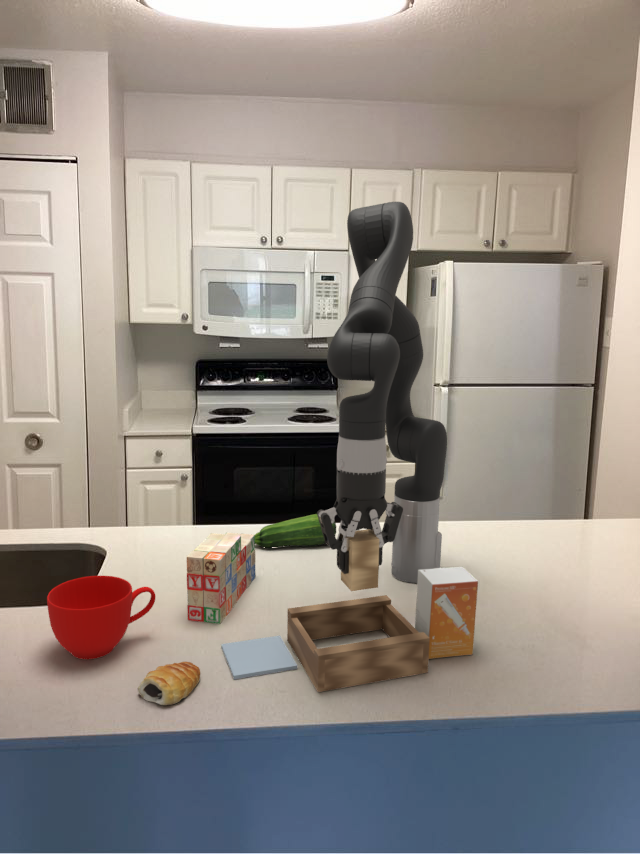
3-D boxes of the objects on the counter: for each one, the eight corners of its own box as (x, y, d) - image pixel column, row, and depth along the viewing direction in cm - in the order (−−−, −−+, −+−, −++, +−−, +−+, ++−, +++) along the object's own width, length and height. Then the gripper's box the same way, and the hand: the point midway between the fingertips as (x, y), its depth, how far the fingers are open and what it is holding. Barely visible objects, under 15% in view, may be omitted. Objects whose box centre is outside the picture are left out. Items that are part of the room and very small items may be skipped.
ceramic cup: (167, 651, 111) (166, 594, 109) (57, 678, 103) (53, 616, 101) (145, 619, 122) (144, 566, 120) (44, 640, 114) (41, 584, 112)
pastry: (178, 668, 107) (177, 646, 106) (212, 681, 103) (212, 658, 103) (134, 698, 99) (133, 674, 98) (170, 713, 95) (169, 688, 95)
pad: (280, 638, 116) (280, 635, 116) (297, 668, 107) (297, 665, 107) (221, 647, 113) (221, 644, 113) (233, 679, 103) (233, 675, 103)
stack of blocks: (227, 574, 142) (226, 517, 140) (256, 577, 141) (256, 520, 139) (187, 621, 122) (185, 555, 120) (220, 625, 121) (219, 558, 118)
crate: (385, 625, 121) (386, 595, 120) (427, 672, 106) (429, 638, 105) (287, 640, 115) (287, 608, 114) (317, 692, 100) (318, 655, 99)
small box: (427, 660, 110) (431, 584, 107) (413, 641, 116) (416, 568, 113) (474, 655, 112) (479, 580, 109) (458, 636, 118) (462, 565, 115)
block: (366, 576, 111) (367, 529, 110) (378, 587, 107) (379, 538, 106) (340, 579, 110) (341, 532, 108) (351, 591, 106) (352, 542, 104)
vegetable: (337, 510, 158) (250, 516, 154) (340, 542, 156) (252, 548, 153) (331, 515, 165) (248, 520, 161) (334, 545, 163) (250, 551, 159)
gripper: (393, 455, 110) (390, 555, 114) (309, 462, 106) (308, 566, 109) (414, 467, 103) (410, 573, 107) (325, 474, 99) (324, 585, 102)
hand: (359, 569), depth 108 cm, fingers closed on block, 4 cm apart
